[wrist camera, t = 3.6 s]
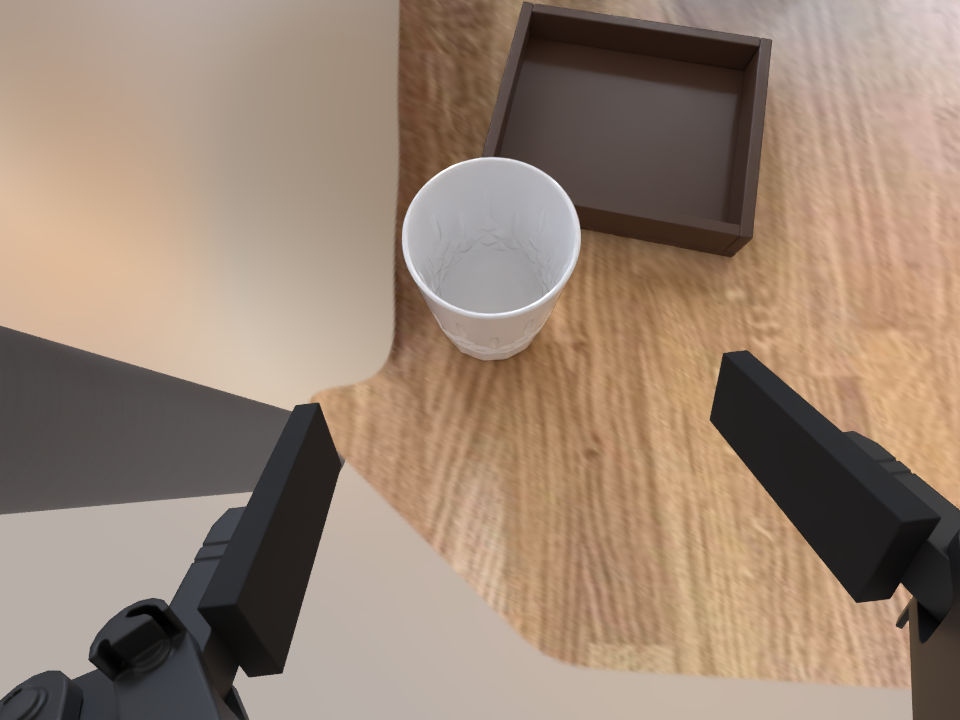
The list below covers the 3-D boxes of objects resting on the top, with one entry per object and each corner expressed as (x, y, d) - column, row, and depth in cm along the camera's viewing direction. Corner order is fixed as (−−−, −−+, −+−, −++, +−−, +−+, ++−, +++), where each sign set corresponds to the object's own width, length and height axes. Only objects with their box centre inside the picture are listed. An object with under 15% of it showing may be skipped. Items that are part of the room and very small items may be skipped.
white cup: (419, 273, 30) (384, 181, 20) (531, 244, 30) (549, 138, 21) (448, 384, 28) (425, 340, 19) (567, 351, 29) (606, 290, 19)
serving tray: (475, 208, 31) (473, 186, 29) (520, 33, 35) (523, 1, 32) (731, 257, 30) (753, 238, 27) (752, 70, 33) (772, 38, 31)
